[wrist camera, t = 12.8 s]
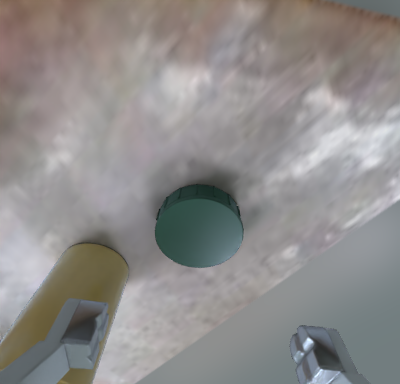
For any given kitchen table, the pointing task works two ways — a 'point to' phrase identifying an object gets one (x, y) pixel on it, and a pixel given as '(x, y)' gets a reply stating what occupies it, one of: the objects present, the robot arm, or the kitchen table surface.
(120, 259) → the jam jar
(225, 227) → the jar lid
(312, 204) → the kitchen table surface
